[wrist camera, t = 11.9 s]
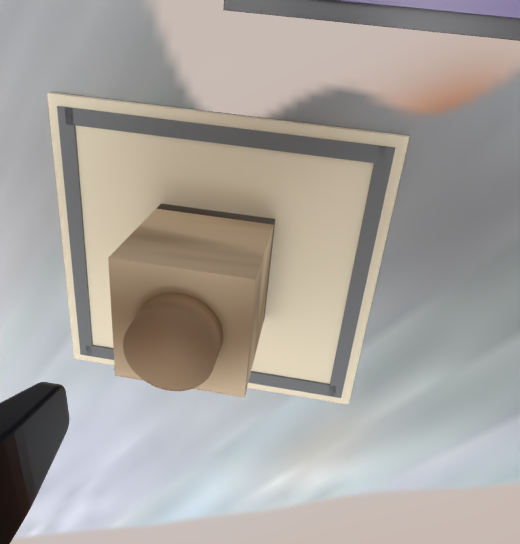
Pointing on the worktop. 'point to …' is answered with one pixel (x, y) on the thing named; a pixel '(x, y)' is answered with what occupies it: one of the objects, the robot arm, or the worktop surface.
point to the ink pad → (401, 14)
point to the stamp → (190, 298)
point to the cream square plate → (240, 200)
